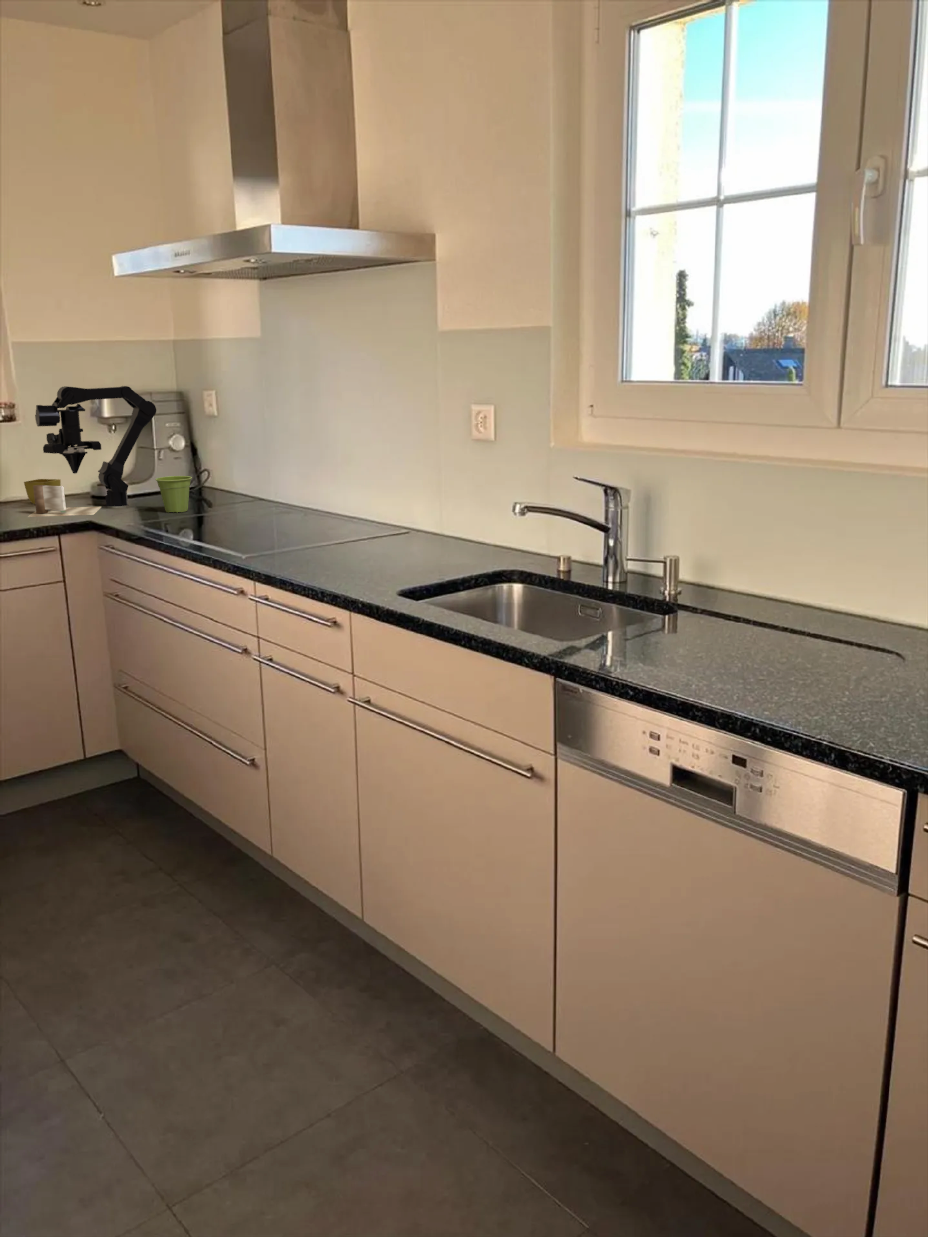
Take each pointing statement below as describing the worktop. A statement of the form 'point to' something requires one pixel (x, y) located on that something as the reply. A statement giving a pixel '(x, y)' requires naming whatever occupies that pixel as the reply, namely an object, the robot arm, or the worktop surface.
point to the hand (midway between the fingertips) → (75, 473)
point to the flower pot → (45, 482)
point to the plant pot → (175, 492)
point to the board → (69, 512)
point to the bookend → (49, 498)
